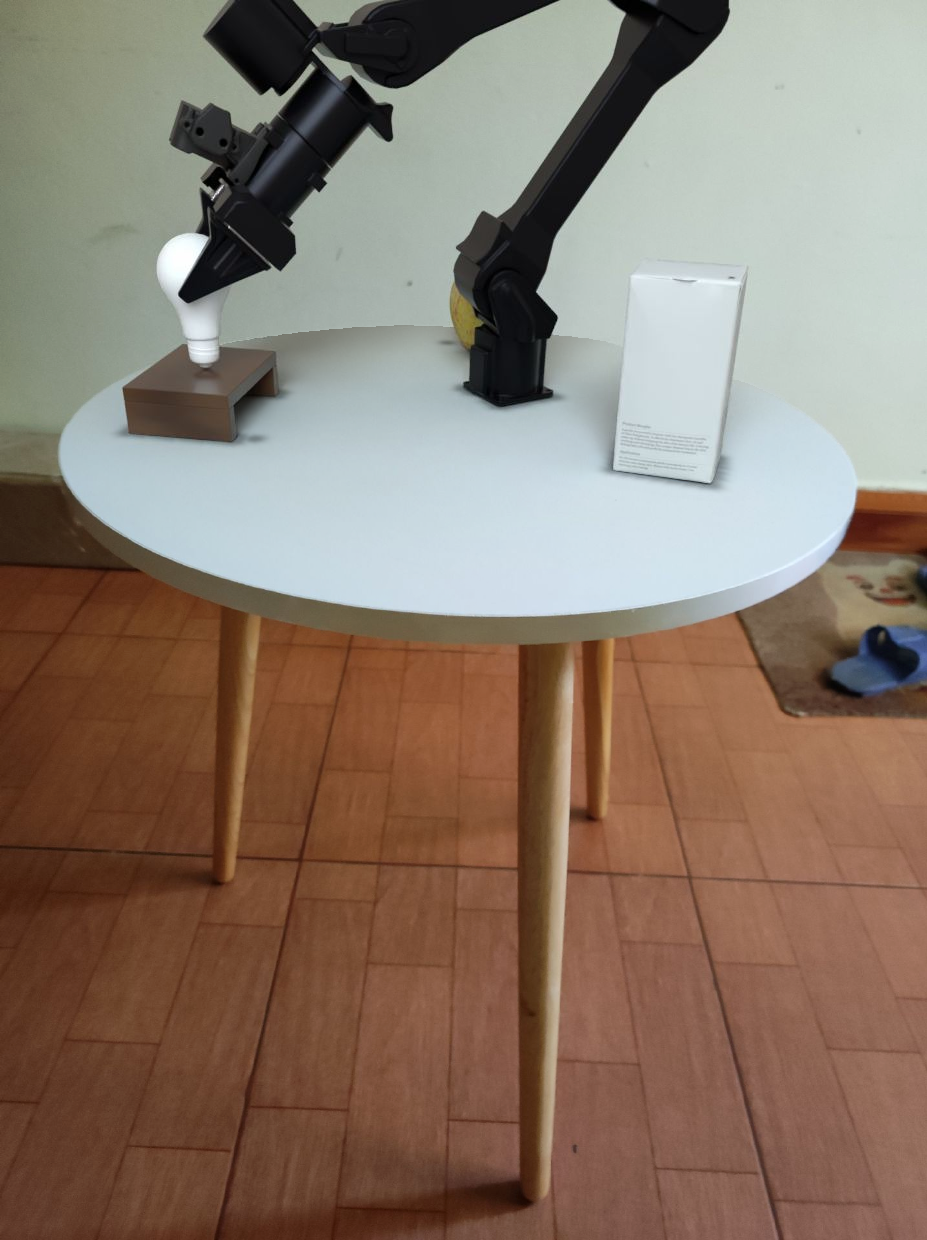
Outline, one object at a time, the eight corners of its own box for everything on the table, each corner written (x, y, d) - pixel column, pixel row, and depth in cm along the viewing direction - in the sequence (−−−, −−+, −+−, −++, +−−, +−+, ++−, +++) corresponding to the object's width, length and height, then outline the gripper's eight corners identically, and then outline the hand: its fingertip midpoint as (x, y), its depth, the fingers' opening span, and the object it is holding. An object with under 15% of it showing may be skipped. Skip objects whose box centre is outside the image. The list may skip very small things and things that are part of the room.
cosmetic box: (721, 458, 83) (755, 264, 75) (711, 488, 78) (747, 282, 69) (622, 443, 85) (645, 253, 77) (606, 471, 80) (629, 270, 72)
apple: (545, 361, 105) (552, 262, 100) (465, 367, 102) (468, 266, 97) (511, 337, 112) (516, 244, 107) (436, 343, 109) (437, 247, 104)
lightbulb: (247, 356, 89) (234, 226, 83) (235, 378, 84) (221, 241, 78) (178, 356, 89) (161, 225, 83) (162, 377, 84) (142, 239, 78)
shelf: (278, 392, 94) (276, 350, 92) (231, 442, 83) (227, 395, 80) (187, 385, 95) (182, 343, 92) (128, 433, 84) (121, 386, 81)
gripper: (215, 54, 83) (98, 199, 86) (236, 66, 68) (93, 242, 71) (314, 156, 89) (202, 289, 92) (354, 188, 74) (218, 345, 77)
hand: (180, 289), depth 83 cm, fingers closed on lightbulb, 6 cm apart
